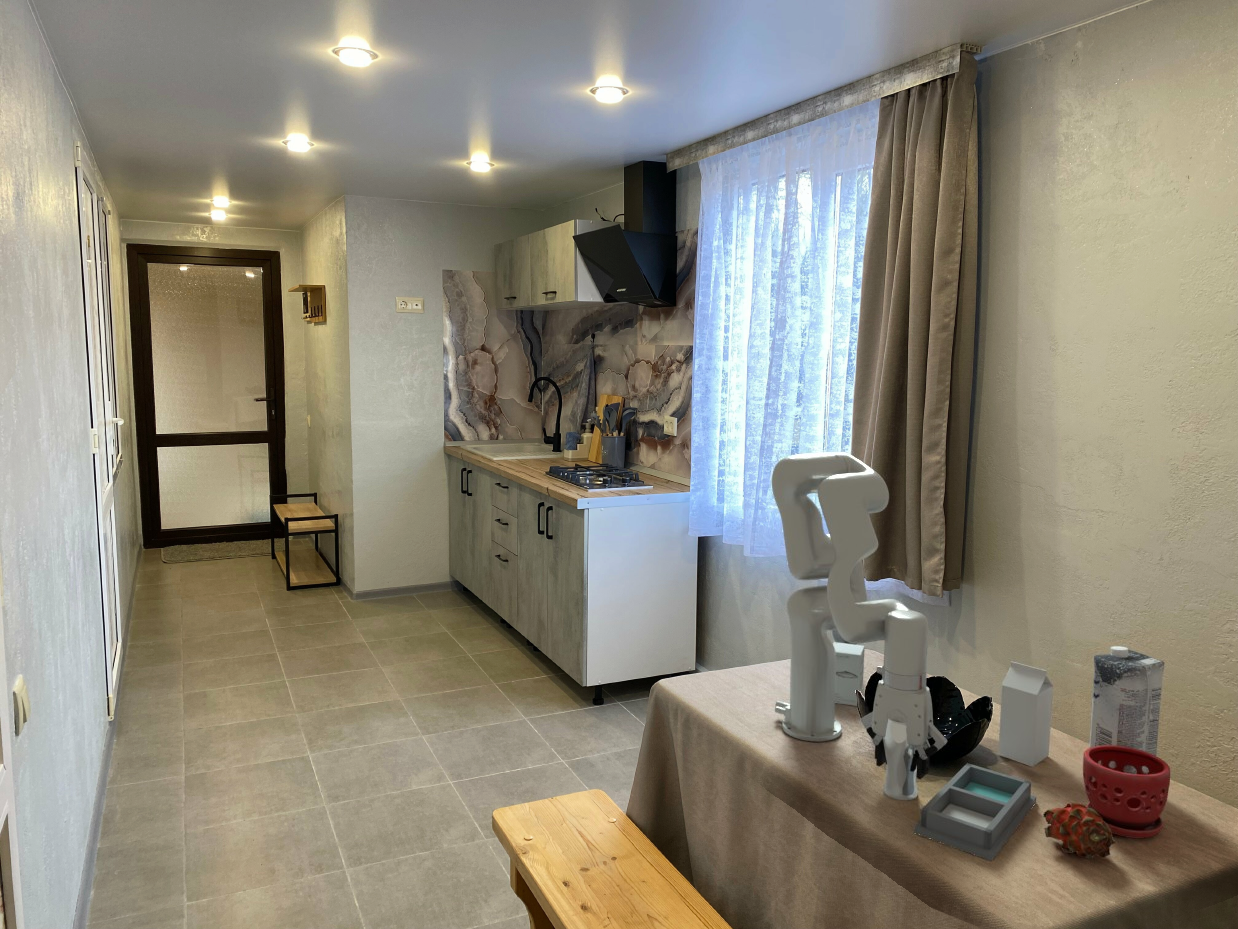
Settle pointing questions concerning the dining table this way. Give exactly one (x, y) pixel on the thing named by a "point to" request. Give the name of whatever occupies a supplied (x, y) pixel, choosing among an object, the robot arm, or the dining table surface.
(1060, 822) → the dragon fruit
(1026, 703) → the milk carton
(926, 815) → the gray divided sorting tray
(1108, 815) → the plant pot
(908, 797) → the silver metal cup
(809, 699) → the robot arm
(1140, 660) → the juice carton
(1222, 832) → the dining table surface
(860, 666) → the supplement box
